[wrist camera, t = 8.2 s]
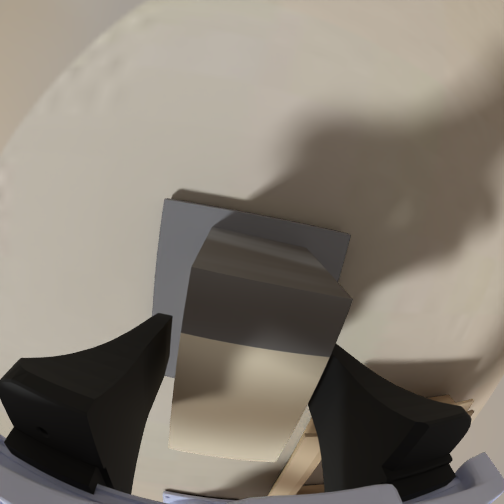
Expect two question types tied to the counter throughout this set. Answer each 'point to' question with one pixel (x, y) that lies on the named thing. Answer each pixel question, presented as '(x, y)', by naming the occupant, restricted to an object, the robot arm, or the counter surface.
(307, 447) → the square wooden frame
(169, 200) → the mat
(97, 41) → the counter surface
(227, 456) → the box
